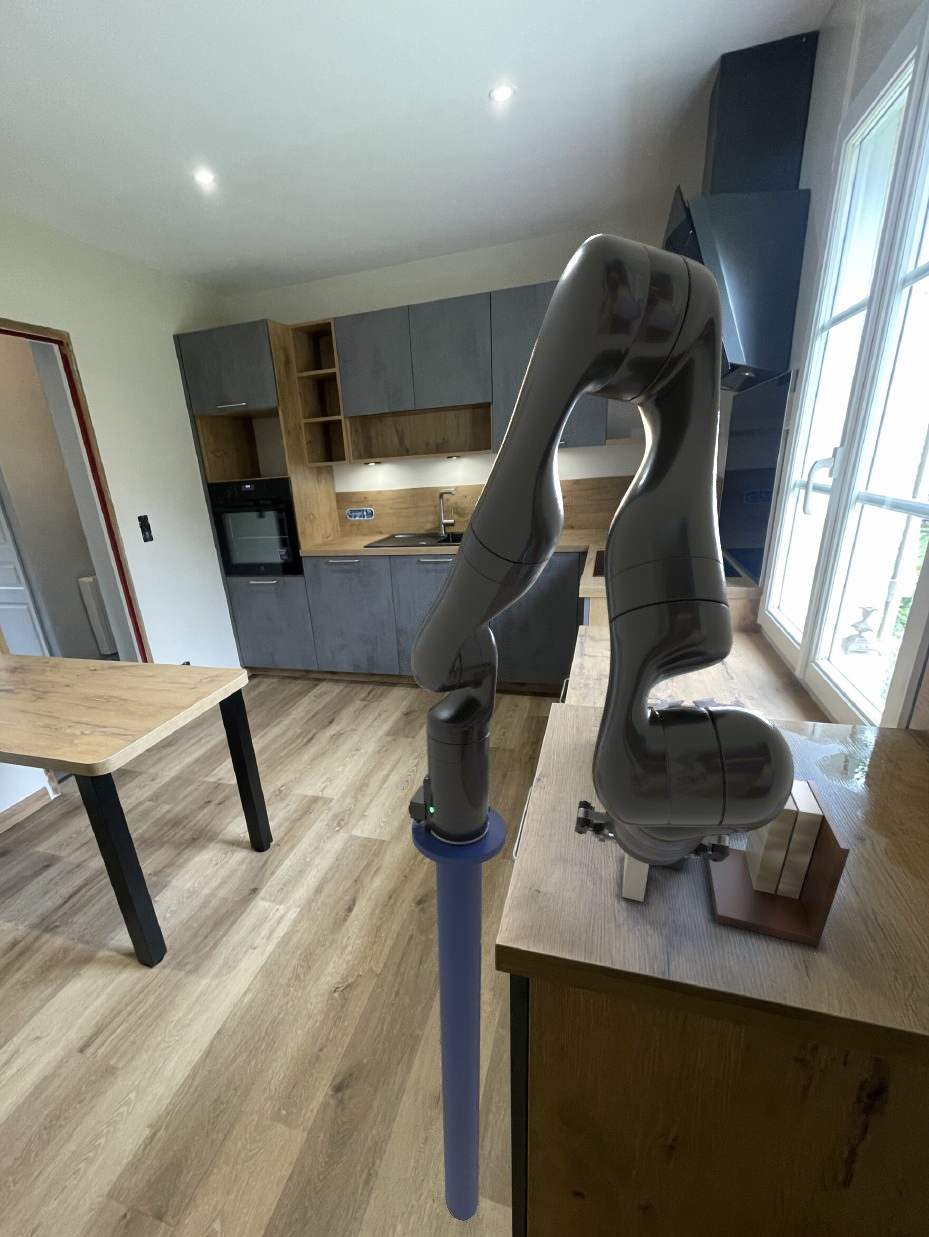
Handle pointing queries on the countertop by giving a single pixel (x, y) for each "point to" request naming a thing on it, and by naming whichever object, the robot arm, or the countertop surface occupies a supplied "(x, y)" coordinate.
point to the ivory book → (634, 878)
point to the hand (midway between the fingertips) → (642, 840)
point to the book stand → (783, 872)
